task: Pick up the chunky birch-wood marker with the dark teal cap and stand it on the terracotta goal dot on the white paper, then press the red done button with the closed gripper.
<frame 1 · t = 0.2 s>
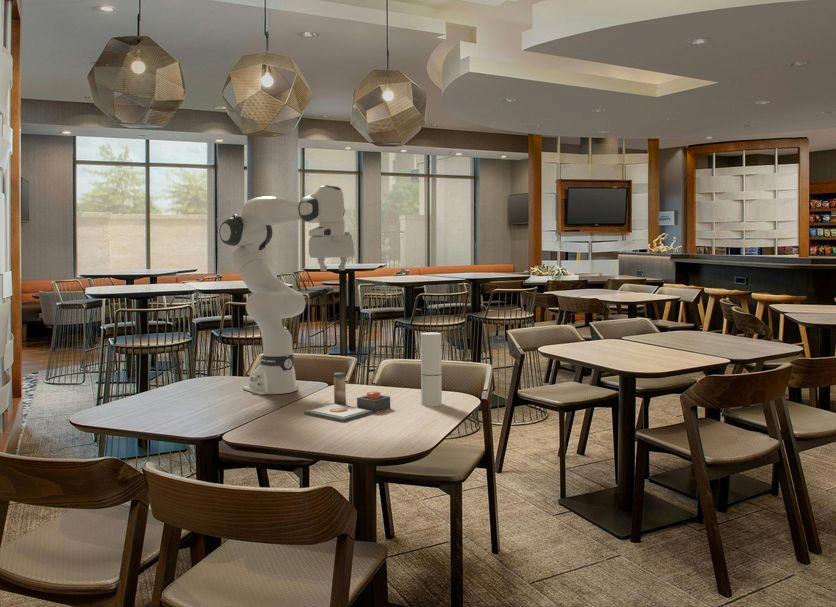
hand: (332, 270, 236), 47 cm above the table, fingers open, 8 cm apart
cylindrical container: (431, 404, 233), on the table
done button: (373, 397, 227), point 4 cm above the table, slide at 0.0 cm
button housing: (373, 408, 227), on the table
marker: (340, 404, 234), on the table
slate board: (338, 413, 221), on the table
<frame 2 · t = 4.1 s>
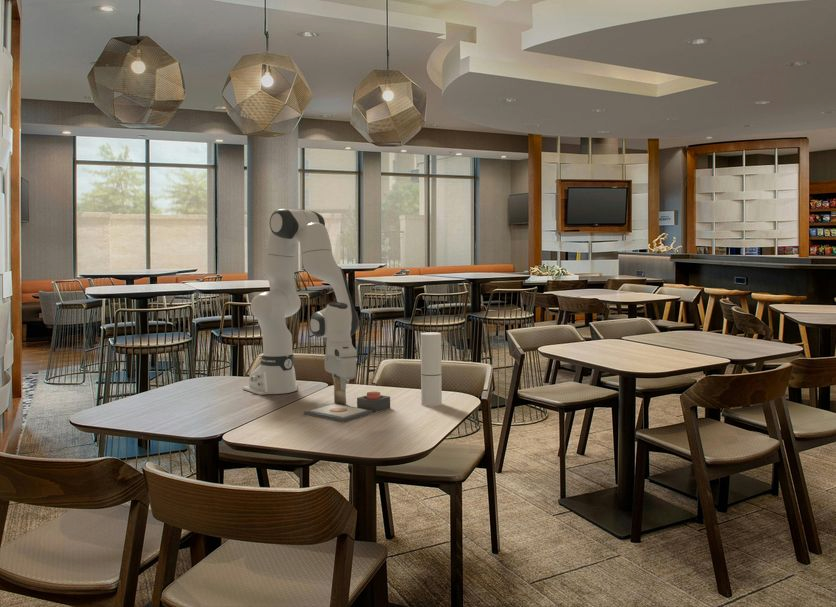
hand: (339, 387, 233), 6 cm above the table, fingers closed on marker, 4 cm apart
marker: (340, 404, 234), on the table, touching gripper
everything else where it was.
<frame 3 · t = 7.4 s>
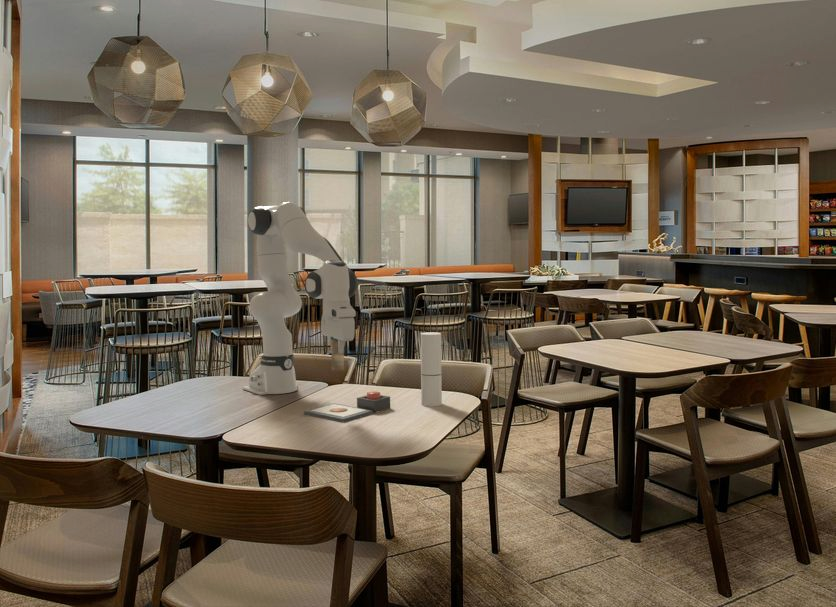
hand: (337, 351, 219), 21 cm above the table, fingers closed on marker, 4 cm apart
marker: (337, 369, 219), point 15 cm above the table, touching gripper
everything else where it was.
when the fingers open (8 cm above the table, at t = 10.9 s): marker stays where it is, resting on slate board.
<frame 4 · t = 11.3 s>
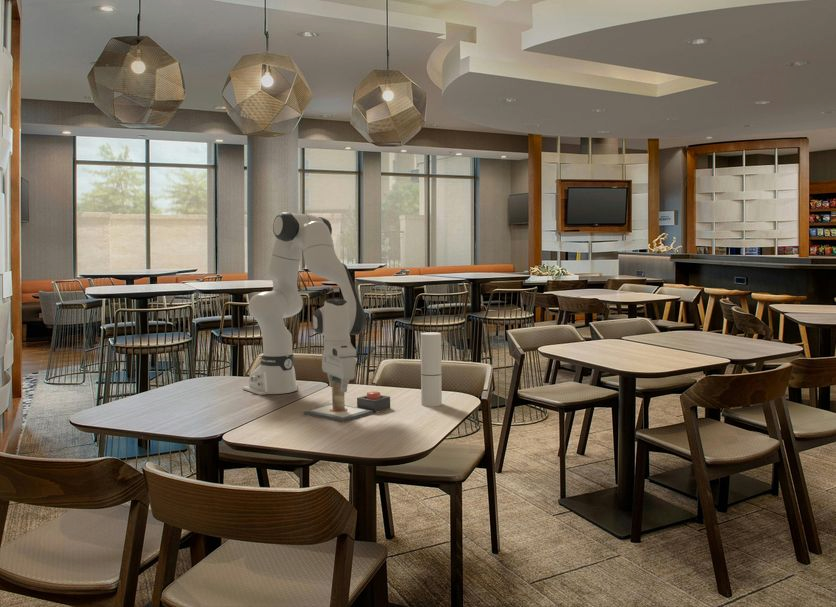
hand: (338, 389, 220), 8 cm above the table, fingers open, 8 cm apart
marker: (338, 409, 221), point 1 cm above the table, touching slate board
everything else where it was.
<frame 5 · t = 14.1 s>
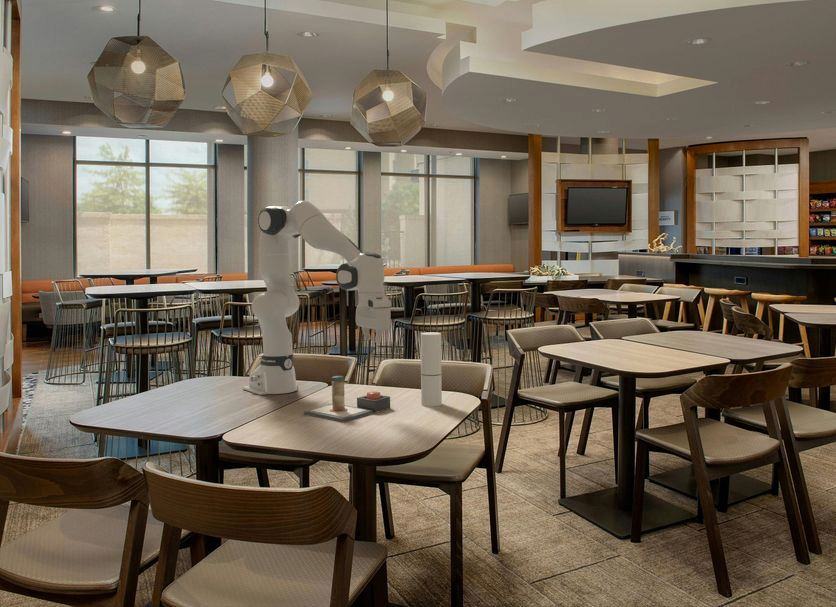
hand: (372, 341, 225), 23 cm above the table, fingers open, 7 cm apart
nothing on the table moved.
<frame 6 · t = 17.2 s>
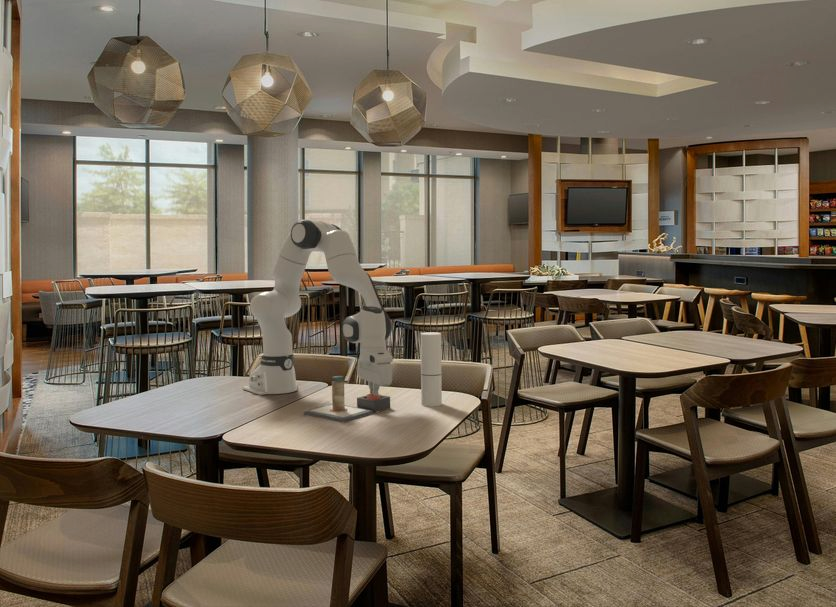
hand: (374, 394, 227), 5 cm above the table, fingers closed, pressing on done button
done button: (373, 399, 227), point 3 cm above the table, slide at 0.7 cm, touching gripper
everything else where it was.
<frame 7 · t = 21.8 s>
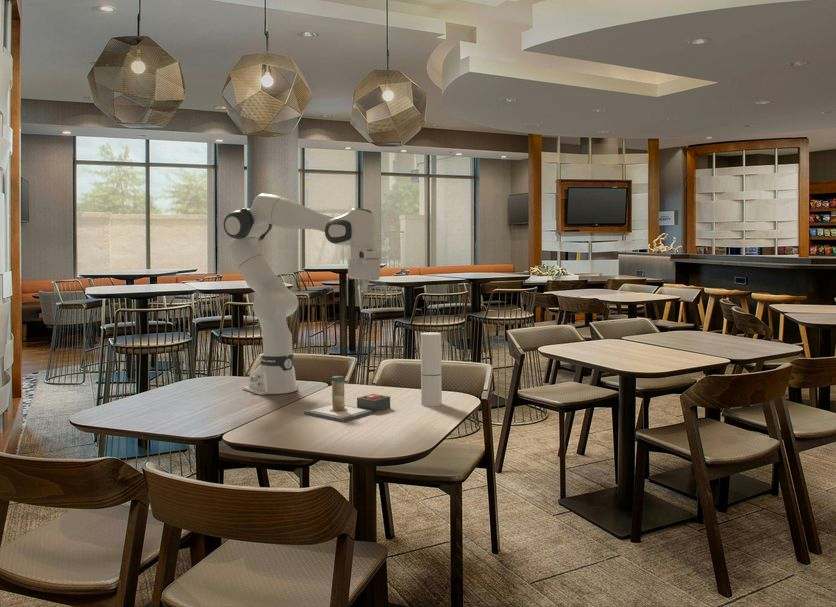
hand: (363, 292, 238), 39 cm above the table, fingers closed
done button: (373, 400, 227), point 3 cm above the table, slide at 1.1 cm
everything else where it was.
at the end: marker 0.1 cm off-centre on the slate board, point 1.3 cm above the slate board's base; marker tilted 0°; done button slide at 1.1 cm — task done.
